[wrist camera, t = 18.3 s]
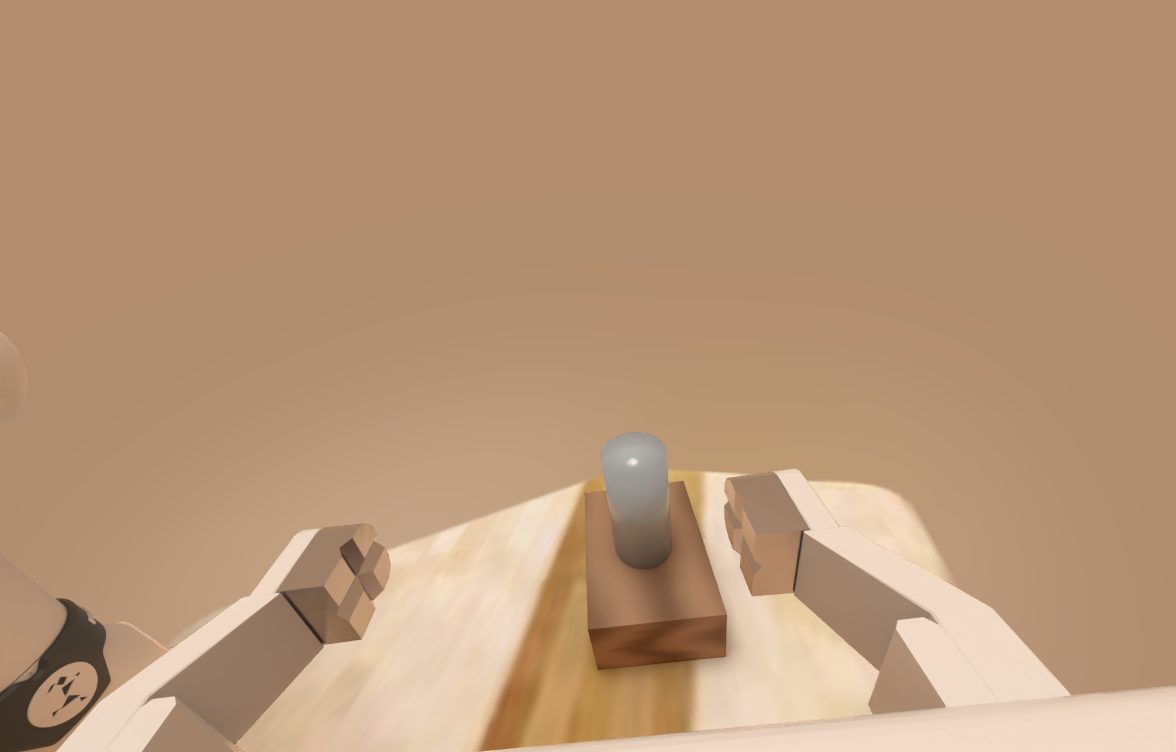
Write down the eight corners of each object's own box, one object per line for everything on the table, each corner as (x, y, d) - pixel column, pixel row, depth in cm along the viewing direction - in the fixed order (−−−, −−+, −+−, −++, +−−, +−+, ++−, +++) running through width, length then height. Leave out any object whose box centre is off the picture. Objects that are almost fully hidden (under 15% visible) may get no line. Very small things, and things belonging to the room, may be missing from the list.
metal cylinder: (618, 572, 37) (603, 478, 32) (611, 525, 42) (598, 437, 37) (678, 564, 37) (673, 468, 32) (664, 517, 42) (658, 428, 37)
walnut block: (597, 669, 36) (588, 629, 33) (592, 530, 49) (584, 493, 46) (725, 656, 35) (726, 614, 33) (685, 519, 49) (683, 481, 46)
